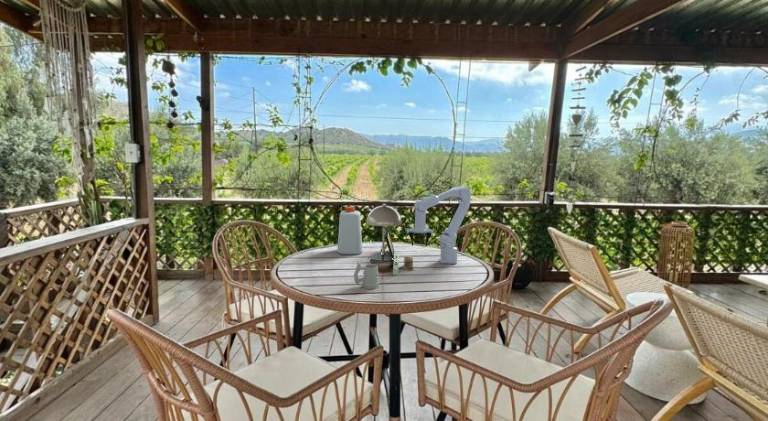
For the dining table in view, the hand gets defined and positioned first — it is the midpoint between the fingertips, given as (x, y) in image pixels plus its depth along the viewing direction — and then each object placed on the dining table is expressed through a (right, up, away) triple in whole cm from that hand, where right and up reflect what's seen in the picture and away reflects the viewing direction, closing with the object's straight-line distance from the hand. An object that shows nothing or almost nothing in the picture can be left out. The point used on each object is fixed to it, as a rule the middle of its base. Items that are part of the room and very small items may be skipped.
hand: (419, 245), depth 211 cm
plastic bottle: (-41, -6, +24) cm, 48 cm away
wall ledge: (-13, -11, -5) cm, 18 cm away
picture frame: (-18, -8, +18) cm, 26 cm away
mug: (-28, -16, -34) cm, 47 cm away
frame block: (-7, -12, -6) cm, 14 cm away
